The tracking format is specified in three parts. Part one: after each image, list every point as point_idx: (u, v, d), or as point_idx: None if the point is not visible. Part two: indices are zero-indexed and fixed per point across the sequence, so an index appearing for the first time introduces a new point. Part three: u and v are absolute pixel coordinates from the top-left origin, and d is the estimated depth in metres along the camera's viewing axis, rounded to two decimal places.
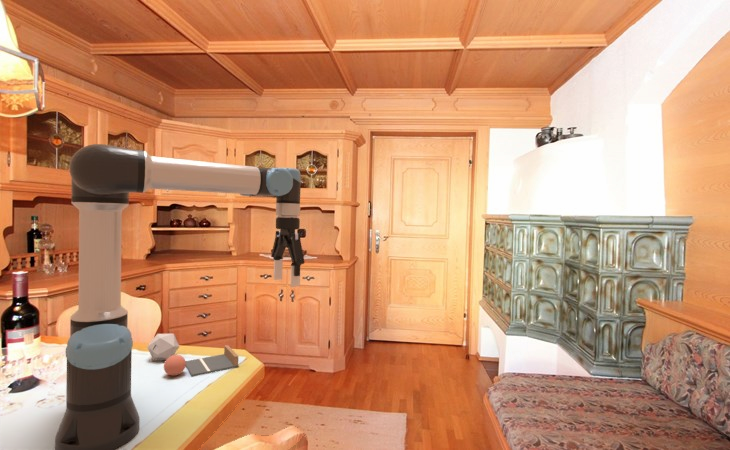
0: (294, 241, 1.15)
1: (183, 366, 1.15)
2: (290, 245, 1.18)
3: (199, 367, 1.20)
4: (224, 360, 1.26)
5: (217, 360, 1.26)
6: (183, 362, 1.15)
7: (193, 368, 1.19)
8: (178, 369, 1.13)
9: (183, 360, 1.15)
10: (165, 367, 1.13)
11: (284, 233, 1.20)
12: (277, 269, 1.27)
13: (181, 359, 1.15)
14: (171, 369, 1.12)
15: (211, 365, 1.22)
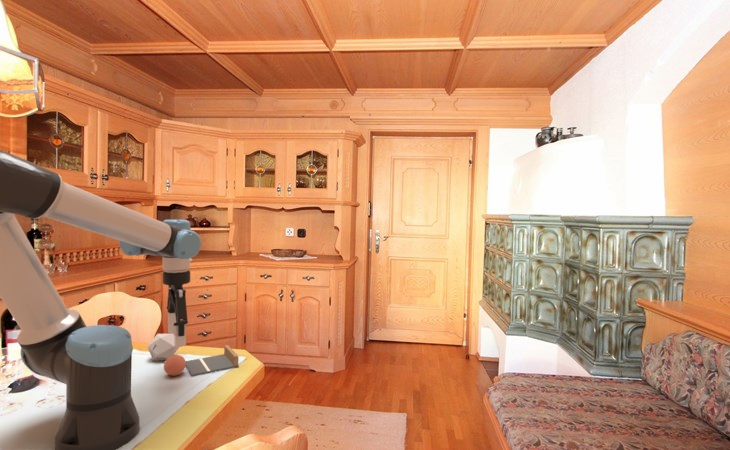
0: (177, 299, 1.08)
1: (183, 366, 1.15)
2: (176, 302, 1.11)
3: (199, 367, 1.20)
4: (224, 360, 1.26)
5: (217, 360, 1.26)
6: (183, 362, 1.15)
7: (193, 368, 1.19)
8: (178, 369, 1.13)
9: (183, 360, 1.15)
10: (165, 367, 1.13)
11: (172, 288, 1.14)
12: (171, 323, 1.20)
13: (181, 359, 1.15)
14: (171, 369, 1.12)
15: (211, 365, 1.22)
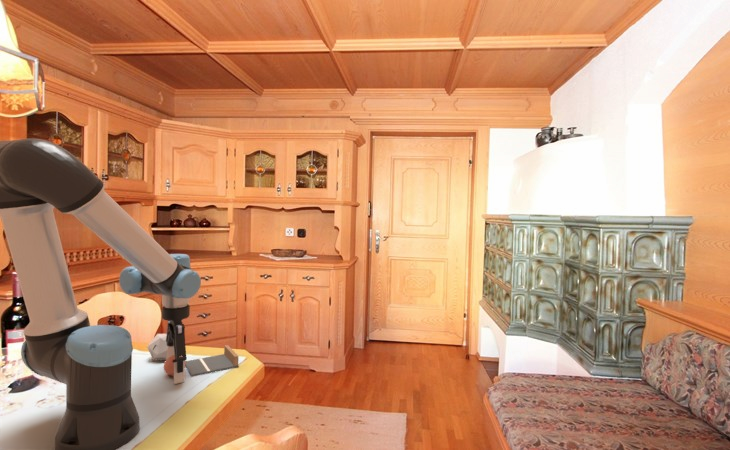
0: (176, 336, 1.09)
1: None
2: (175, 338, 1.11)
3: (199, 367, 1.20)
4: (224, 360, 1.26)
5: (217, 360, 1.26)
6: None
7: (193, 368, 1.19)
8: None
9: None
10: (165, 367, 1.13)
11: (171, 322, 1.14)
12: None
13: None
14: (171, 369, 1.12)
15: (211, 365, 1.22)
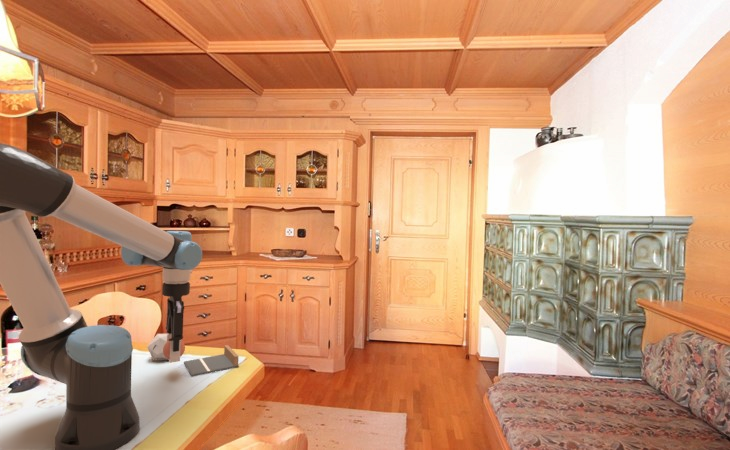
0: (175, 315, 1.09)
1: (182, 350, 1.14)
2: (173, 316, 1.12)
3: (199, 367, 1.20)
4: (224, 360, 1.26)
5: (217, 360, 1.26)
6: (182, 346, 1.14)
7: (193, 368, 1.19)
8: None
9: (182, 344, 1.15)
10: (164, 351, 1.12)
11: (171, 299, 1.14)
12: None
13: None
14: None
15: (211, 365, 1.22)
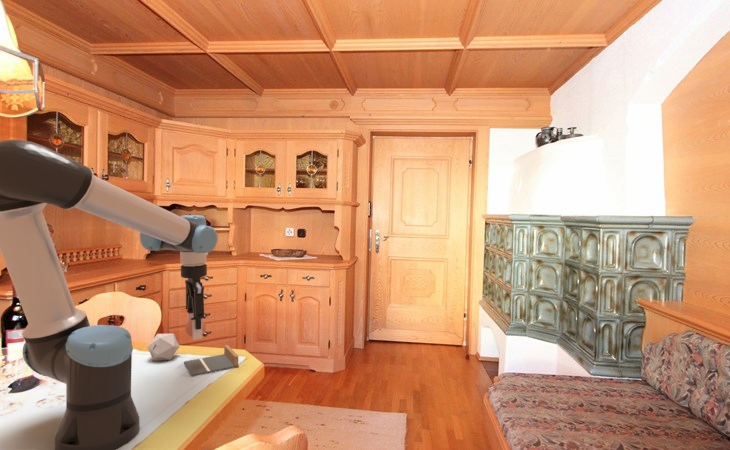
0: (196, 296, 1.14)
1: (203, 328, 1.20)
2: (194, 296, 1.17)
3: (199, 367, 1.20)
4: (224, 360, 1.26)
5: (217, 360, 1.26)
6: (203, 324, 1.20)
7: (193, 368, 1.19)
8: None
9: (203, 322, 1.21)
10: (187, 329, 1.18)
11: (190, 281, 1.19)
12: None
13: None
14: (192, 330, 1.18)
15: (211, 365, 1.22)
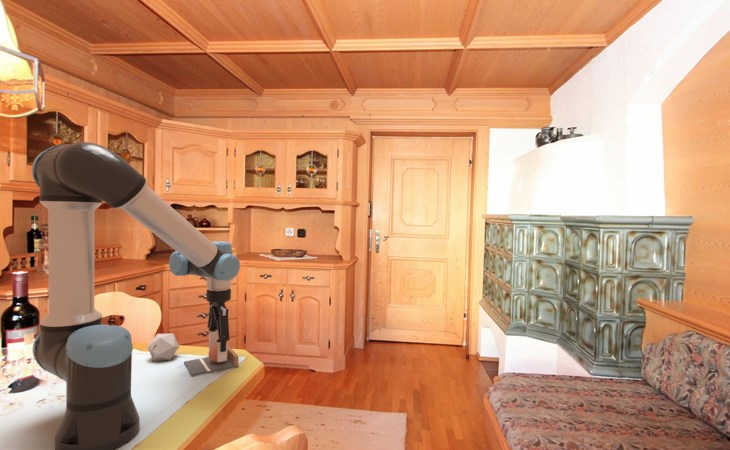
0: (221, 318, 1.18)
1: None
2: (219, 319, 1.21)
3: (199, 367, 1.20)
4: None
5: None
6: None
7: (193, 368, 1.19)
8: None
9: None
10: (210, 355, 1.22)
11: (215, 305, 1.23)
12: (212, 340, 1.28)
13: None
14: (215, 356, 1.21)
15: (211, 365, 1.22)
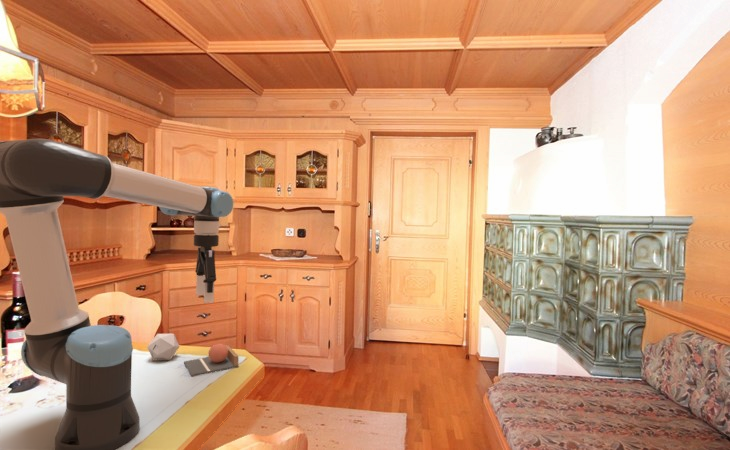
0: (207, 258, 1.18)
1: (226, 354, 1.24)
2: (205, 262, 1.20)
3: (199, 367, 1.20)
4: (224, 360, 1.26)
5: None
6: (226, 350, 1.24)
7: (193, 368, 1.19)
8: (222, 356, 1.22)
9: (226, 348, 1.24)
10: (210, 355, 1.22)
11: (202, 250, 1.23)
12: (199, 285, 1.29)
13: (224, 347, 1.24)
14: (215, 356, 1.21)
15: (211, 365, 1.22)
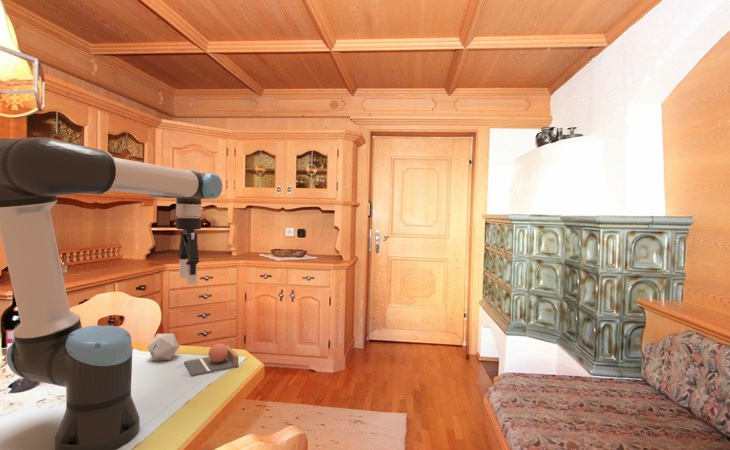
0: (190, 241, 1.19)
1: (226, 354, 1.24)
2: (188, 245, 1.21)
3: (199, 367, 1.20)
4: (224, 360, 1.26)
5: None
6: (226, 350, 1.24)
7: (193, 368, 1.19)
8: (222, 356, 1.22)
9: (226, 348, 1.24)
10: (210, 355, 1.22)
11: (185, 233, 1.24)
12: (182, 268, 1.30)
13: (224, 347, 1.24)
14: (215, 356, 1.21)
15: (211, 365, 1.22)
